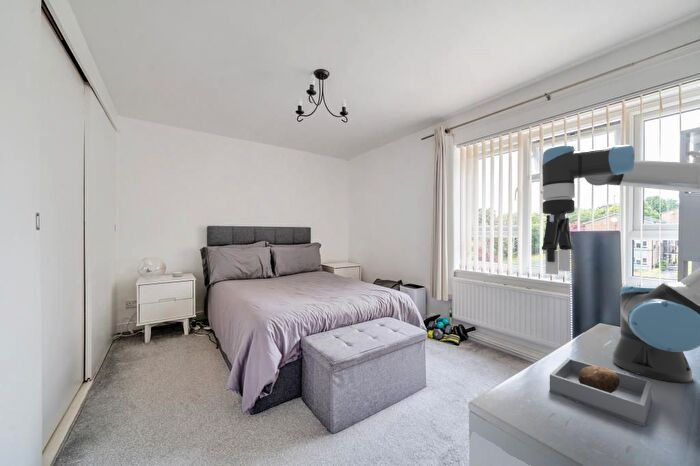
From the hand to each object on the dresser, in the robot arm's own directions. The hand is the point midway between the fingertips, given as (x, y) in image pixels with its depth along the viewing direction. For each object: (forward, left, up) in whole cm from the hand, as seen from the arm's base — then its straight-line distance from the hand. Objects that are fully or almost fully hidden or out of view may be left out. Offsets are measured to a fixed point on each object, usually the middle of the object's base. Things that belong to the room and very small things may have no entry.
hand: (558, 272), depth 81 cm
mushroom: (-1, +16, -26) cm, 31 cm away
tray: (-1, +16, -27) cm, 31 cm away
